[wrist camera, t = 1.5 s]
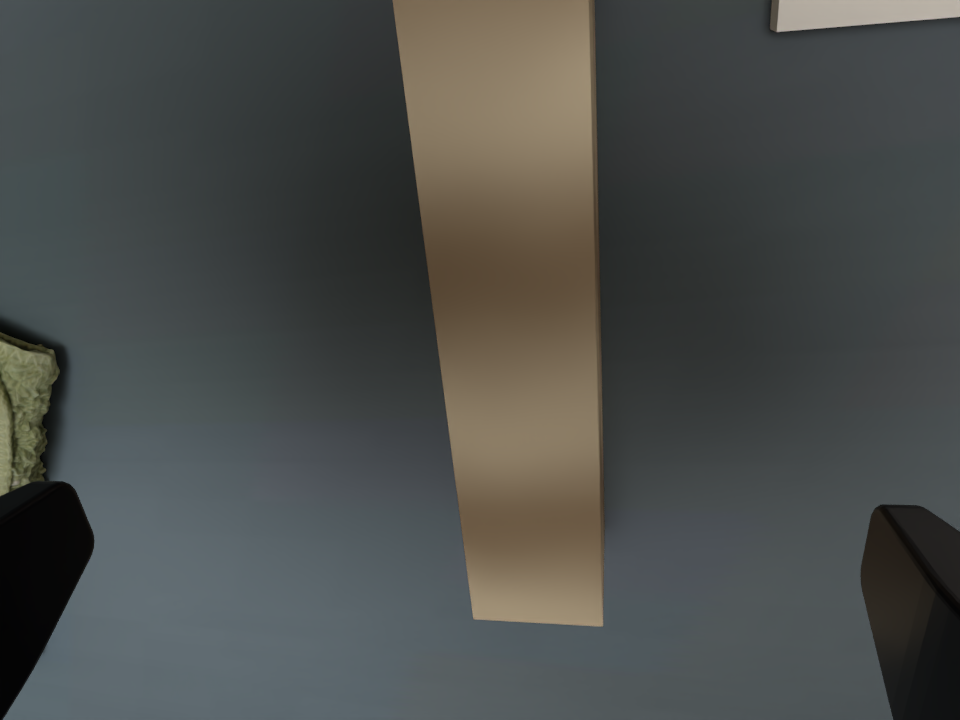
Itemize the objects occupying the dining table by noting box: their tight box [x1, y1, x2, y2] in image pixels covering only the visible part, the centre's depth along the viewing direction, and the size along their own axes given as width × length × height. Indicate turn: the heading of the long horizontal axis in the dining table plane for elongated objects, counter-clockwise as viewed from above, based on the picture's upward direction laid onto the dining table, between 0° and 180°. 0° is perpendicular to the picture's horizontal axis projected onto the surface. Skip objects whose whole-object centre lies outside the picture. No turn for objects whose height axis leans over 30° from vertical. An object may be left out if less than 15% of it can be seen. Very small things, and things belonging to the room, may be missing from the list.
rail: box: [393, 0, 605, 627], centre depth 17 cm, size 20×4×5 cm, turn 5°
